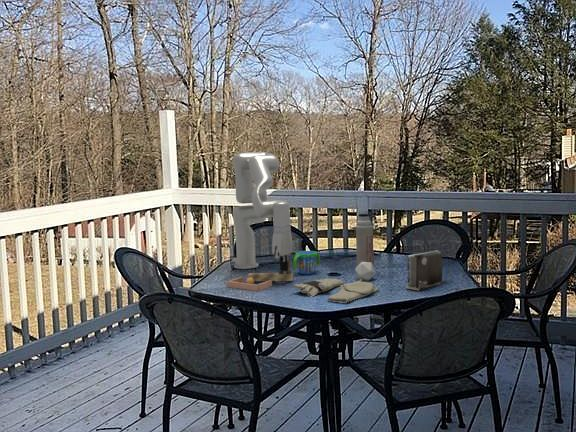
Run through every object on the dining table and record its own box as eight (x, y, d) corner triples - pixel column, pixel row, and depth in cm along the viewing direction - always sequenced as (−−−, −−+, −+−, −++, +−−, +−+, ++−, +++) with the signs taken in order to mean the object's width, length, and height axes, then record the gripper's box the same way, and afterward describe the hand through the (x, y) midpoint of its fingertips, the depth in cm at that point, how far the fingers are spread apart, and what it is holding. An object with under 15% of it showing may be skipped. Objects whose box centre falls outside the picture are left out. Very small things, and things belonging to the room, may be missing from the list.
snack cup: (313, 269, 282) (313, 248, 280) (326, 272, 273) (326, 251, 272) (287, 274, 273) (286, 253, 272) (299, 277, 264) (299, 256, 263)
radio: (435, 279, 251) (434, 245, 250) (451, 282, 245) (451, 248, 243) (401, 288, 237) (400, 253, 235) (417, 292, 230) (417, 256, 228)
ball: (245, 276, 253) (248, 280, 255) (244, 283, 251) (247, 287, 253) (252, 275, 251) (255, 279, 254) (251, 282, 249) (254, 286, 252)
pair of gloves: (288, 294, 236) (288, 282, 235) (329, 282, 254) (328, 271, 253) (345, 306, 215) (345, 292, 214) (385, 292, 233) (385, 280, 232)
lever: (248, 281, 258) (247, 261, 256) (249, 279, 260) (248, 260, 259) (292, 280, 255) (291, 261, 254) (292, 279, 258) (292, 259, 257)
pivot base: (272, 282, 256) (272, 281, 256) (279, 279, 261) (279, 279, 261) (283, 283, 253) (283, 283, 253) (290, 281, 258) (290, 280, 258)
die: (379, 280, 256) (371, 261, 260) (375, 274, 249) (368, 255, 253) (362, 286, 257) (355, 267, 262) (358, 281, 250) (351, 262, 254)
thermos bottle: (377, 273, 267) (376, 213, 264) (363, 275, 263) (361, 215, 260) (367, 270, 274) (366, 212, 271) (353, 272, 270) (352, 214, 267)
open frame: (227, 287, 251) (226, 281, 251) (241, 282, 260) (241, 276, 260) (257, 291, 242) (257, 285, 241) (272, 285, 250) (271, 280, 250)
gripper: (285, 227, 259) (286, 266, 261) (265, 231, 247) (267, 273, 249) (298, 227, 255) (300, 268, 257) (279, 232, 243) (281, 274, 245)
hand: (284, 270), depth 253 cm, fingers closed
